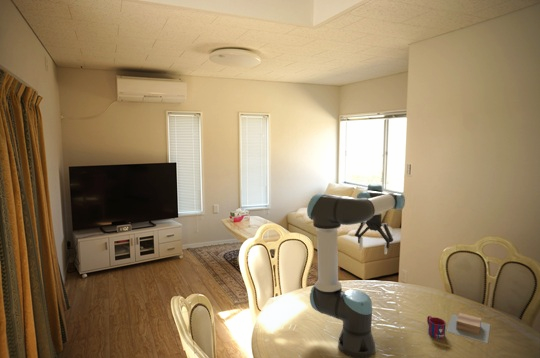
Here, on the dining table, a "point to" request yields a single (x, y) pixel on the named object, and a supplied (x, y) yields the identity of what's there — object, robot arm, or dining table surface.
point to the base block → (468, 323)
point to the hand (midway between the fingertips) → (373, 251)
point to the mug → (436, 327)
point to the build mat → (481, 337)
